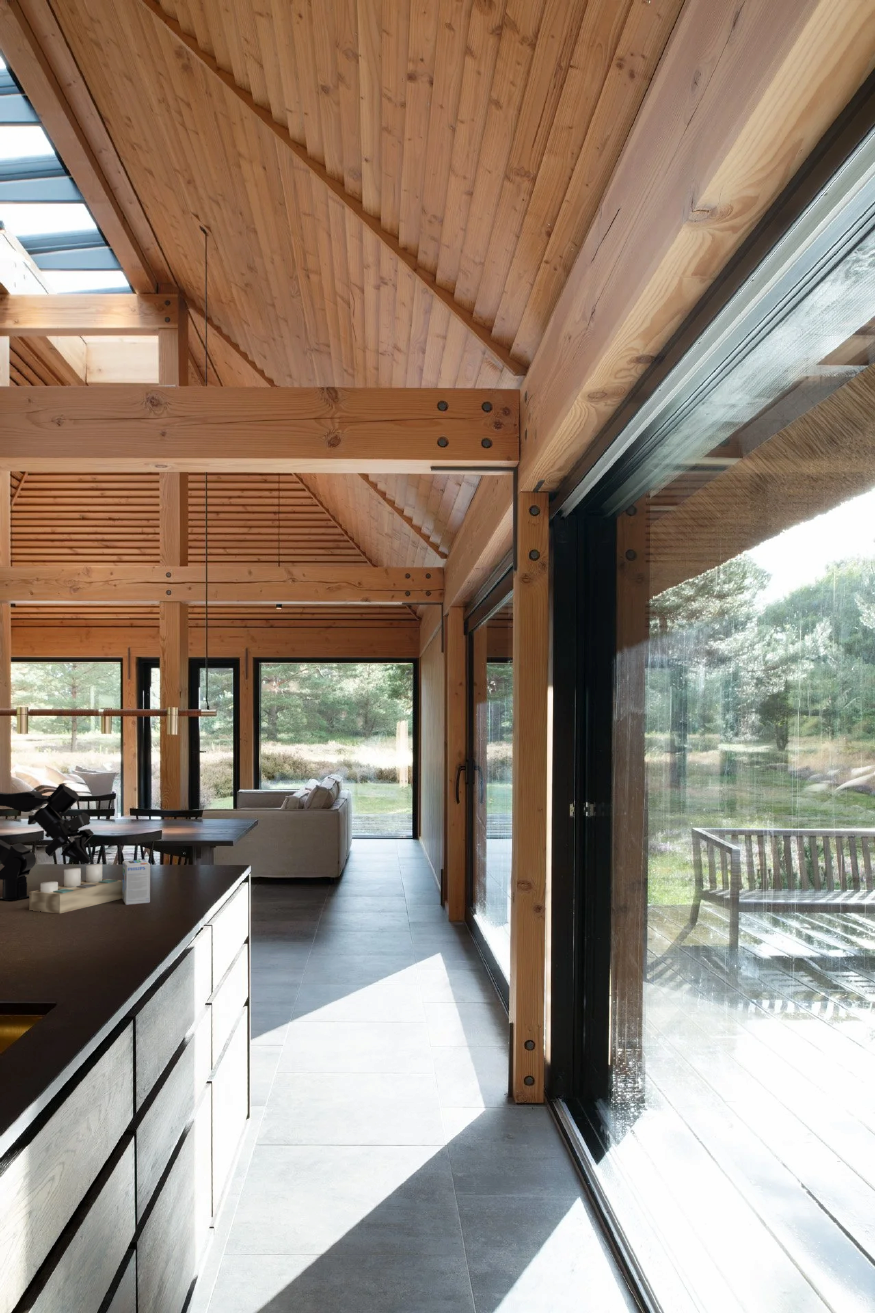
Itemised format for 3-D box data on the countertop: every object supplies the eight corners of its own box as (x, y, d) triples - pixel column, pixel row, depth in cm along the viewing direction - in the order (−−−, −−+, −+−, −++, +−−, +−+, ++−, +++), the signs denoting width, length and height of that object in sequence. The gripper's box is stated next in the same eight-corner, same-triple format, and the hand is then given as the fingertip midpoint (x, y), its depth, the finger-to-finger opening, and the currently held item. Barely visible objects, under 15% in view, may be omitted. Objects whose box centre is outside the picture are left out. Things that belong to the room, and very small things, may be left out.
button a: (36, 909, 252) (36, 883, 253) (49, 906, 256) (50, 881, 256) (48, 911, 250) (48, 884, 251) (61, 908, 254) (61, 882, 255)
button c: (82, 890, 267) (82, 865, 267) (94, 887, 271) (94, 863, 271) (93, 891, 265) (94, 866, 265) (105, 888, 269) (105, 864, 269)
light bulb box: (121, 898, 266) (121, 860, 267) (145, 896, 269) (146, 859, 270) (125, 905, 257) (126, 865, 258) (151, 902, 260) (151, 863, 260)
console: (29, 910, 251) (29, 890, 252) (94, 895, 272) (94, 877, 272) (59, 913, 246) (60, 893, 247) (123, 898, 267) (123, 879, 267)
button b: (60, 895, 259) (60, 870, 260) (72, 892, 263) (72, 867, 264) (71, 896, 257) (71, 870, 258) (84, 893, 261) (84, 868, 262)
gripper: (55, 807, 261) (93, 847, 259) (87, 801, 279) (122, 838, 277) (28, 836, 261) (66, 875, 259) (62, 828, 279) (97, 865, 278)
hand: (89, 862), depth 268 cm, fingers closed
